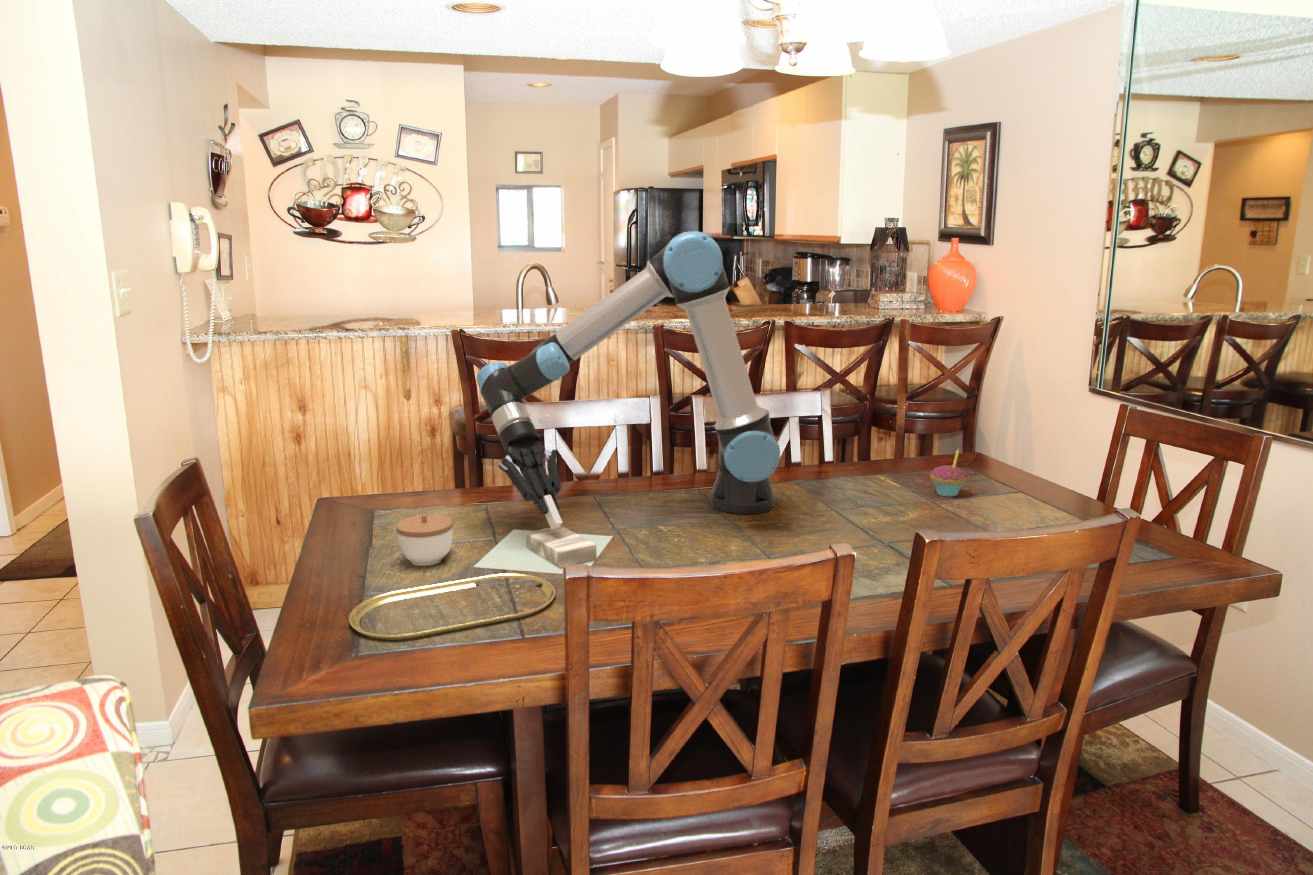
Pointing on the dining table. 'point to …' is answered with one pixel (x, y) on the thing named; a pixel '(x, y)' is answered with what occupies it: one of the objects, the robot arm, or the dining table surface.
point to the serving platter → (439, 588)
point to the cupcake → (948, 478)
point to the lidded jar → (425, 538)
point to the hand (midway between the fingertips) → (557, 526)
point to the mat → (529, 554)
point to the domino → (561, 546)
